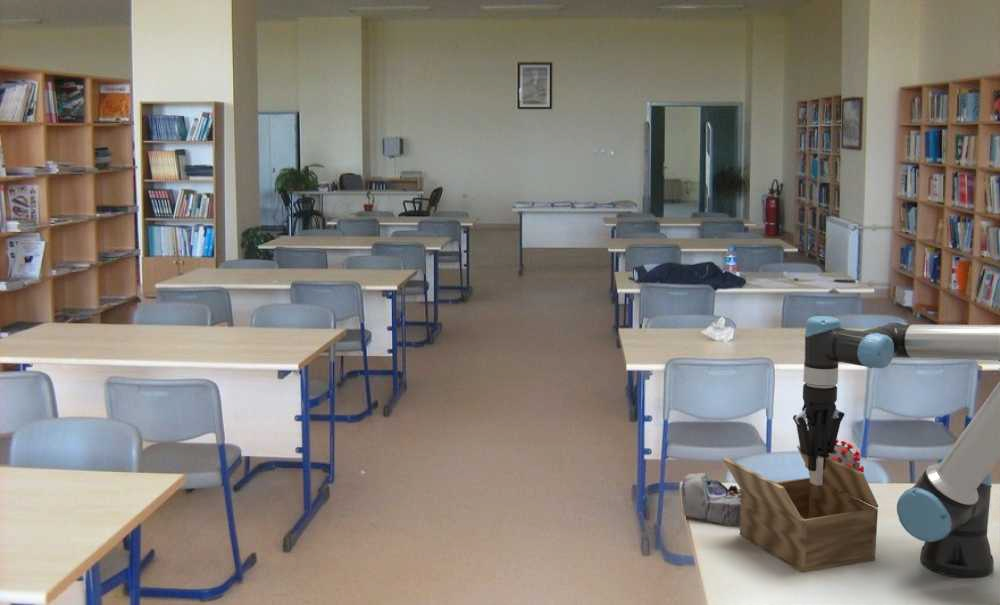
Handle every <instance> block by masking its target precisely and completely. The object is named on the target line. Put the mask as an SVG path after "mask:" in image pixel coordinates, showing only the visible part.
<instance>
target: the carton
mask: <svg viewBox="0 0 1000 605" xmlns="http://www.w3.org/2000/svg"><path fill="white" fill-rule="evenodd" d="M774 482H775V481H774ZM775 483H777V484H779V485H781V486H783V487H784V488H785V490H786V492H787V493H788V495H789V497H790V498H791V500H792V502H793V504H794V505H795V507H796V509H797V510H798V512H799V514H800V515H801V517H802V519H803V520H802V521H799V520H797V519H795V518H793V517H792V516H790V515H788V514H786V513H784V512H782V511H780V510H779V509H777V508H775V507H773V506H771V505H769V504H768V503H766V502H764V501H762V500H760V499H758V498H756V497H755V496H753V495H751V494H749V493H747V492H745V491H743V490H742V489H741V514H740V525H739V536H740V535H741V536H740V537H741V538H743V539H744V540H746V541H748V540H749V541H748V542H750V543H751V544H754V546H755V545H756V546H757V547H758V548H760V549H762V550H763V551H765V552H766V553H768V554H770V555H771V556H774V557H775V558H776V559H778V560H779V561H782V562H783V563H784V564H786V565H788V566H790V567H792V568H793V569H794V570H796V571H798V572H799V573H801V574H803V573H809V572H815V571H821V570H827V569H831V568H837V567H842V566H848V565H854V564H859V563H863V562H870V561H875V560H876V546H877V533H878V532H877V529H878V517H879V516H878V515H879V514H878V513H879V509H878V507H877V508H875V507H873V506H871V505H869V504H867V503H865V502H863V501H861V500H858V499H856V498H854V497H852V496H850V495H848V494H846V493H843V492H841V491H839V490H836V489H834V488H832V487H830V486H828V485H826V484H824V483H822V485H818V486H817V485H814V484H812V483H810V478H809V477H805V478H804V477H803V478H798V479H797V478H796V479H791V480H783V481H776V482H775Z"/></svg>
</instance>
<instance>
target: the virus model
mask: <svg viewBox="0 0 1000 605" xmlns="http://www.w3.org/2000/svg"><path fill="white" fill-rule="evenodd" d="M838 443H839V439H838V438H837V439H836V443H835V448H834V451H833V453H829V454H828V455H829V457H828V458H830V459H832V460H835V461H837V462H839V463H842V464H844V465H846V466H848V467H851V468H853V469H855V470H858V471H860V472H862V473H863V474H864V471H865V466H864V465H860V464H861V462H860V461H861V457H860V455H861V454H860V452H859V451H858V449H856V450H855V452H852V449H854V446H853V445H852V444H851V443H847V442H846V441H844V440H841V441H840V444H838ZM804 466H805V468H806V469H808V468H807V466H806V464H805V463H804ZM808 475H809V477H808V478H810V473H808ZM822 483H823V482H822ZM824 484H825V483H824ZM826 485H827V484H826ZM828 486H829V485H828ZM830 487H831V486H830ZM832 488H833V487H832ZM834 489H835V488H834ZM836 490H837V489H836ZM841 492H842V491H841ZM843 493H844V492H843Z"/></svg>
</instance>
